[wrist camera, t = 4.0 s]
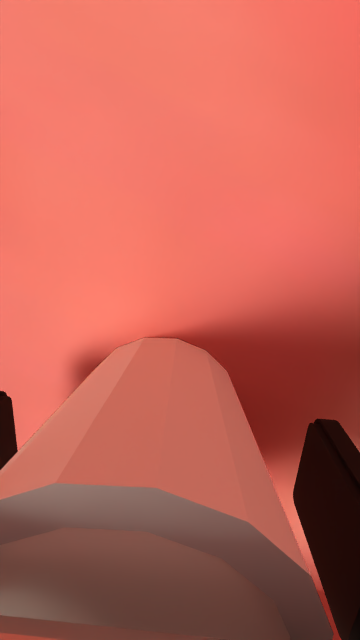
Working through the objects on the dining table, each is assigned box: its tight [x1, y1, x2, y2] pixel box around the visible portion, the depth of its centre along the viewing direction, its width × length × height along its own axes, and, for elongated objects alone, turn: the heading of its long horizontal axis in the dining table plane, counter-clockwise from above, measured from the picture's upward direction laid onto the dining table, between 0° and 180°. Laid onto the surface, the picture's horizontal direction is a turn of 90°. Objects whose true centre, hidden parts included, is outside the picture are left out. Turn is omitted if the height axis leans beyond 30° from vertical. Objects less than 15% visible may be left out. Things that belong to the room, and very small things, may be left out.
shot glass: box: [0, 337, 333, 640], centre depth 8 cm, size 7×7×7 cm
